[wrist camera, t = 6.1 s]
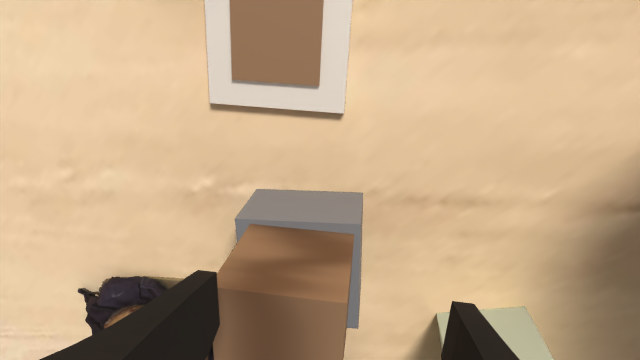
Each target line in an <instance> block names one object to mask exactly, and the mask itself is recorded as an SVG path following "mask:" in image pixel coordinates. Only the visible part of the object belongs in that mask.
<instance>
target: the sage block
mask: <svg viewBox="0 0 640 360" xmlns="http://www.w3.org/2000/svg"><path fill="white" fill-rule="evenodd" d="M479 311H480V312H481V313H482V315H483V316H484V317H485V318H486V320H487V321H488V322H489V323H490V325H491V326H492V327H493V328H494V329H495V331H496V332H497V333H498V334H499V336H500V337H501V338H502V339H503V340H504V342H505V343H506V344H507V345H508V346H509V348H510V349H511V350H512V351H513V352H514V353H515V355H516V356H517V357H518V358H519V359H520V360H554V358H553V357H552V355H551V353H550V351H549V349H548V347H547V345H546V344H545V342H544V340H543V338H542V336H541V334H540V333H539V331H538V329H537V327H536V325H535V323H534V322H533V320H532V318H531V316H530V314H529V312H528V310H527V309H526V307H525V306H522V307H509V308H496V309H483V310H479ZM436 314H437V321H438V329H439V336H440V344H441V351H442V349H443V344H444V339H445V334H446V329H447V324H448V319H449V314H450V312H445V313H436Z"/></svg>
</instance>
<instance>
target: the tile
mask: <svg viewBox="0 0 640 360" xmlns="http://www.w3.org/2000/svg"><path fill="white" fill-rule="evenodd" d="M352 5H353V0H205V18H206V38H207V57H208V77H209V97H210V103H215V104H228V105H240V106H253V107H266V108H279V109H291V110H304V111H317V112H330V113H343V114H344V112H345V98H346V85H347V72H348V58H349V45H350V31H351V18H352Z"/></svg>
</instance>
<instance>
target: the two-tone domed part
mask: <svg viewBox="0 0 640 360" xmlns="http://www.w3.org/2000/svg"><path fill="white" fill-rule="evenodd" d="M182 280H183V279H182V278H164V277H146V276H143V277H139V276H135V277H122V278H120V277H112V278H109V279H106V280H105V281H104V282H103V284H102V287H100V288H99V292H100V293H99V292H91V291H89V290H87V289H85V288H83V289H82V288H81V289H78V292H79V293H81V294H83V295H84V298H85V302H86V303H87V304H86V305H87V306H86V311H87V313H88V314H87V317H86V320H85V321H86V322H87V323H88V324H89V326H90V327H91V329H92V335H94V334H96V333H98V332H100V331H101V330H103V329H105V328H107V327H109V326H111V325H112V324H114V323H116V322H117V321H119V320H121V319H122V318H124V317H126V316H127V315H129V314H131V313H132V312H134V311H136V310H137V309H139V308H141V307H142V306H144V305H146V304H147V303H149V302H150V301H152V300H153V299H155V298H156V297H158V296H159V295H161V294H162V293H164V292H166V291H167V290H169V289H170V288H172V287H173V286H174V285H176V284H177V283H179V282H180V281H182ZM95 294H97V295H98V297H97V296H95ZM205 360H214V352H213V344H212V346H211V349H210V351H209V353H208V356H207V357H206V359H205Z"/></svg>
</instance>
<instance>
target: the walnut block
mask: <svg viewBox="0 0 640 360" xmlns="http://www.w3.org/2000/svg"><path fill="white" fill-rule="evenodd" d="M353 245H354V234H348V233H338V232H328V231H318V230H308V229H298V228H288V227H278V226H268V225H258V224H250V225H249V226H248V228H247V229H246V231H245V232H244V234H243V235H242V237H241V238H240V240H239V241H238V243H237V244H236V246H235V247H234V249H233V250H232V252H231V253H230V255H229V256H228V258H227V260H226V261H225V263H224V264H223V266H222V267H221V269H220V270H219V272H218V273H217V286H218V301H219V317H220V326H219V328H218V331H217V333H216V336H215V339H214V341H213V352H214V360H343V358H344V348H345V338H346V328H347V318H348V306H349V294H350V282H351V270H352V258H353Z"/></svg>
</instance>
